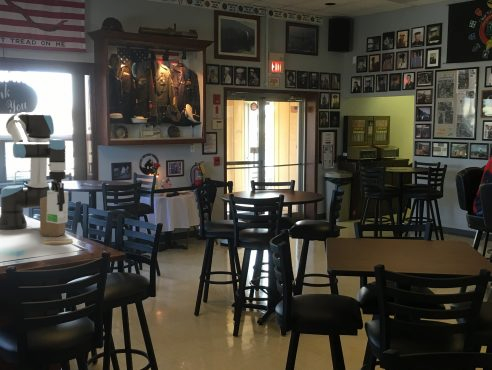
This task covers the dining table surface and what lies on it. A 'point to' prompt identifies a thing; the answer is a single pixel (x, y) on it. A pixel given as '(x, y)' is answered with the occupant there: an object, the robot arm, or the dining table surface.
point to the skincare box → (52, 207)
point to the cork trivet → (57, 241)
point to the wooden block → (48, 227)
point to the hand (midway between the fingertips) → (57, 216)
